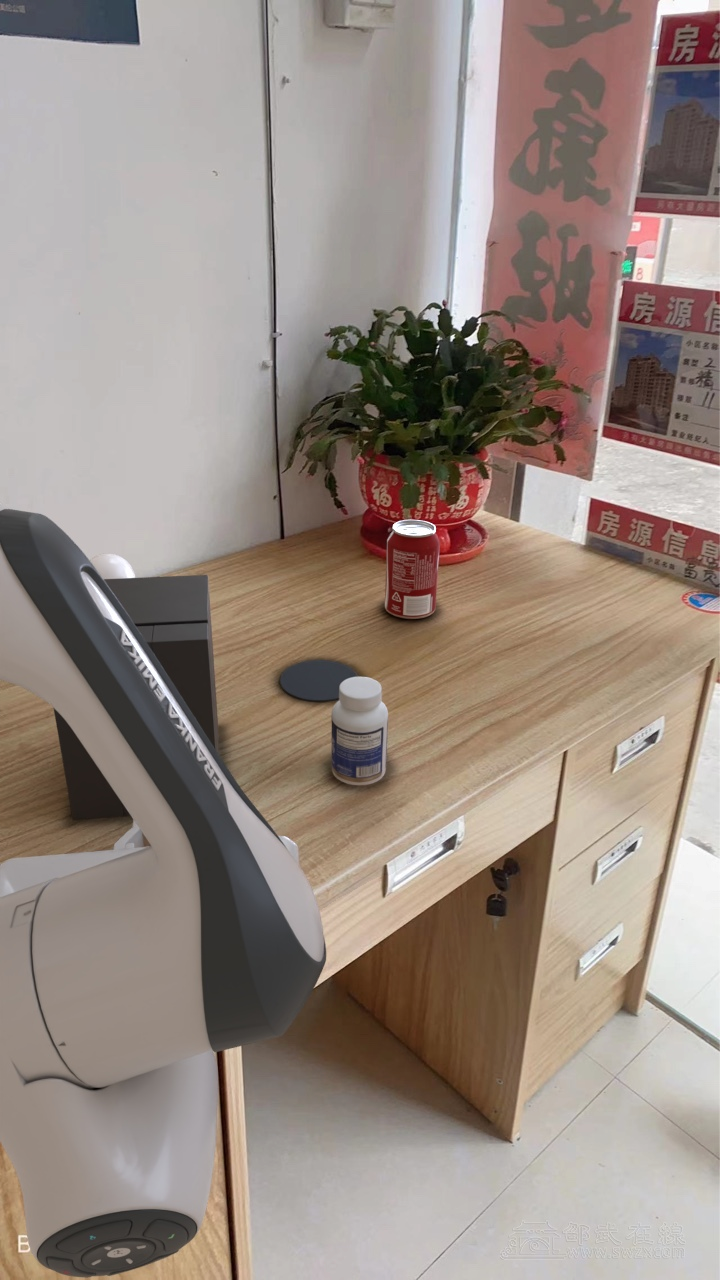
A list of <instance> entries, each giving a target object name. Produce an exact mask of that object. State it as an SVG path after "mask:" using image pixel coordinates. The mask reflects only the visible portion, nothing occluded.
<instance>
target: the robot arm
mask: <svg viewBox="0 0 720 1280" xmlns="http://www.w3.org/2000/svg"><path fill="white" fill-rule="evenodd" d="M0 681H3V682H7V683H10V684H13V685H14V686H15V685H16V686H18V687H20V688H22V689H24V690H26V691H28V692H29V693H32V694H33V695H36V697H38V698H40V699H42V700H43V702H46V703H47V704H49V705H50V706H51V707H52V708H53V710H54V709H55V710H56V711H57V712H58V713H59V714H60V715H61V716H62V717H63V718H64V719H65V720H66V722H67V723H68V724H69V726H70V727H71V728H72V730H73V731H74V733H75V734H76V736H77V737H78V739H79V740H80V742H81V743H82V745H83V746H84V748H85V749H86V750H87V752H88V753H89V755H90V756H91V758H92V759H93V761H94V762H95V764H96V765H97V767H98V768H99V770H100V771H101V772H102V774H103V775H104V777H105V778H106V780H107V781H108V783H109V784H110V786H111V787H112V789H113V790H114V792H115V793H116V794H117V796H118V797H119V799H120V800H121V802H122V803H123V805H124V806H125V808H126V809H127V811H128V812H129V814H130V815H131V816H130V817H131V818H132V819H133V820H132V827H131V828H129V829H128V830H127V831H126V832H125V833H124V834H123V835H121V837H119V838H118V840H117V841H115V842H114V844H113V849H107V850H106V849H105V850H93V851H82V852H81V851H80V852H72V853H71V852H69V853H61V854H60V853H59V854H58V853H57V854H47V855H35V856H23V857H11V858H8V859H6V860H4V861H3V862H2V863H0V1144H1V1146H2V1148H3V1149H4V1151H5V1153H6V1155H7V1156H8V1159H9V1160H10V1163H11V1165H12V1166H13V1169H14V1172H15V1174H16V1176H17V1179H18V1182H19V1185H20V1190H21V1194H22V1200H23V1208H24V1217H25V1219H24V1220H25V1229H26V1238H27V1242H28V1247H29V1249H30V1251H31V1254H32V1256H33V1257H34V1259H35V1260H36V1261H37V1262H38V1263H39V1264H40V1265H41V1266H43V1267H45V1268H46V1269H49V1270H51V1271H54V1272H55V1273H57V1274H61V1275H64V1276H68V1277H72V1278H73V1277H74V1278H92V1277H105V1276H108V1277H112V1276H115V1275H120V1274H123V1273H127V1272H130V1271H133V1270H136V1269H137V1270H138V1269H139V1268H143V1267H145V1266H148V1265H152V1264H154V1263H157V1262H158V1261H161V1260H163V1259H166V1258H168V1257H171V1256H172V1255H175V1254H176V1253H177V1254H178V1252H179V1251H180V1250H181V1249H183V1247H185V1246H186V1245H188V1244H189V1243H190V1242H191V1241H193V1239H194V1238H195V1237H196V1235H198V1233H199V1231H200V1230H201V1227H202V1226H203V1222H204V1219H205V1216H206V1211H207V1207H208V1202H209V1197H210V1194H211V1193H210V1192H211V1186H212V1181H213V1172H214V1166H215V1165H214V1164H215V1155H216V1147H217V1145H216V1144H217V1133H218V1109H219V1108H218V1106H219V1073H218V1072H219V1071H218V1064H217V1059H216V1055H215V1053H218V1052H222V1051H226V1050H230V1049H234V1048H235V1049H236V1048H239V1047H243V1046H247V1045H251V1044H256V1043H259V1042H264V1041H268V1040H272V1039H277V1038H281V1037H282V1036H283V1035H284V1034H285V1033H286V1031H287V1030H288V1029H289V1028H290V1026H291V1025H292V1024H293V1022H294V1021H295V1020H296V1018H297V1017H298V1015H299V1014H300V1012H301V1011H302V1009H303V1008H304V1007H305V1005H306V1003H307V1001H308V1000H309V998H310V997H311V995H312V993H313V991H314V989H315V987H316V985H317V983H318V981H319V979H320V976H321V975H322V972H323V970H324V968H325V965H326V962H327V946H326V939H325V934H324V926H323V920H322V915H321V912H320V908H319V904H318V901H317V897H316V895H315V893H314V890H313V888H312V886H311V883H310V881H309V879H308V877H307V876H306V874H305V872H304V870H303V869H302V867H301V865H300V853H299V846H298V844H297V843H296V842H295V841H293V839H291V838H289V837H288V836H286V835H278V834H277V832H276V831H275V830H274V828H273V827H272V826H271V824H270V823H269V822H268V821H267V820H266V818H265V817H264V816H263V814H262V813H261V812H260V811H259V809H258V808H257V807H256V806H255V805H254V803H253V802H252V801H251V800H250V798H249V797H248V796H247V795H246V793H245V791H244V790H243V789H242V787H241V786H240V784H239V783H238V782H237V780H236V779H235V777H234V776H233V774H232V772H230V770H229V768H228V766H227V765H226V764H225V762H224V760H223V759H222V757H221V756H220V753H219V754H218V753H217V751H216V750H215V748H214V746H213V745H212V743H211V742H210V740H209V739H208V737H207V736H206V734H205V732H204V731H203V729H202V728H201V726H200V725H199V723H198V722H197V720H196V718H195V717H194V715H193V714H192V712H191V711H190V709H189V708H188V706H187V704H186V703H185V701H184V700H183V698H182V697H181V695H180V694H179V692H178V690H177V689H176V687H175V686H174V684H173V683H172V681H171V679H170V678H169V676H168V675H167V673H166V672H165V670H164V669H163V667H162V666H161V664H160V662H159V661H158V659H157V658H156V656H155V655H154V653H153V652H152V650H151V649H150V647H149V646H148V644H147V642H146V641H145V639H144V638H143V636H142V635H141V633H140V632H139V630H138V629H137V627H136V626H135V624H134V623H133V621H132V620H131V618H130V617H129V615H128V614H127V612H126V611H125V609H124V608H123V606H122V605H121V604H120V602H119V601H118V599H117V598H116V596H115V595H114V593H113V592H112V591H111V589H110V588H109V586H108V585H107V583H106V582H105V581H104V579H103V578H102V576H101V575H100V574H99V572H98V571H97V570H96V568H95V567H94V566H93V564H92V563H91V562H90V559H89V557H87V555H86V554H85V552H84V551H82V549H81V548H80V547H79V545H77V544H76V542H75V541H74V540H73V539H72V538H71V537H70V536H69V535H68V534H67V533H66V532H65V531H64V530H63V529H62V528H61V527H60V526H59V525H58V524H56V523H55V522H54V521H53V520H52V519H51V518H49V517H48V516H46V515H44V514H42V513H38V512H31V511H24V510H18V509H12V508H9V507H7V506H6V505H5V504H3V503H1V502H0Z"/></svg>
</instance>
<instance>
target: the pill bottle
mask: <svg viewBox="0 0 720 1280" xmlns="http://www.w3.org/2000/svg"><path fill="white" fill-rule="evenodd" d="M382 700H383V687H382V684H381V683H380V682H379V681H377V680H376V679H374V678H371V677H369V676H358V677H352V678H348V679H346V680H344V681H343V682H342V683H341V684H340V687H339V699H338V700H337V701H336V702H335V704H334V705H333V707H332V709H331V716H330V717H331V718H330V719H331V737H330V738H331V746H330V748H331V750H330V751H331V761H330V763H331V764H330V765H331V772H332V775H333V776H334V777H335V778H336V779H337V780H339V781H341V782H342V783H344V784H347V785H351V786H367V785H371V784H374V783H377V782H378V781H380V780H382V778H383V777H384V776H385V774H386V770H387V757H388V756H387V754H388V732H389V731H388V728H389V710H388V707H387V706H386V704H385V703H384V702H383V701H382Z"/></svg>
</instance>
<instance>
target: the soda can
mask: <svg viewBox="0 0 720 1280" xmlns="http://www.w3.org/2000/svg"><path fill="white" fill-rule="evenodd" d="M436 530H437V528H436V525H435V524H433V523H431V522H429V521H425V520H419V519H404V520H399V521H397V522H395V523H394V524H393V525H392V531H391V533H389V535H388V537H387V539H386V557H385V558H386V560H385V561H386V562H385V587H384V588H385V590H384V609H385V611H386V612H387V613H388V614H389V615H392V616H394V617H396V618H401V619H406V620H417V619H424V618H427V617H429V616H431V615H433V614H434V612H435V611H436V607H437V606H436V605H437V591H438V578H439V577H438V576H439V561H440V546H441V540H440V538H439V537H438V534H437V533H436V532H437V531H436Z"/></svg>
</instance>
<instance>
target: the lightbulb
mask: <svg viewBox="0 0 720 1280" xmlns="http://www.w3.org/2000/svg"><path fill="white" fill-rule="evenodd" d="M89 560H90V562H91V563H92V564H93V566H94V567H95V568H96V570H97V571H98V572H99V574H100V575H101V576H102V578H103V579H120V578H136V574H135V571H134V569H133V567H132V565H131V564H130V562H128V560H127V559H126V558H123V557H122V556H120V555H118V554H114V553H102V554H98V555H95V556H93V557H91V558H90V559H89Z"/></svg>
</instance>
